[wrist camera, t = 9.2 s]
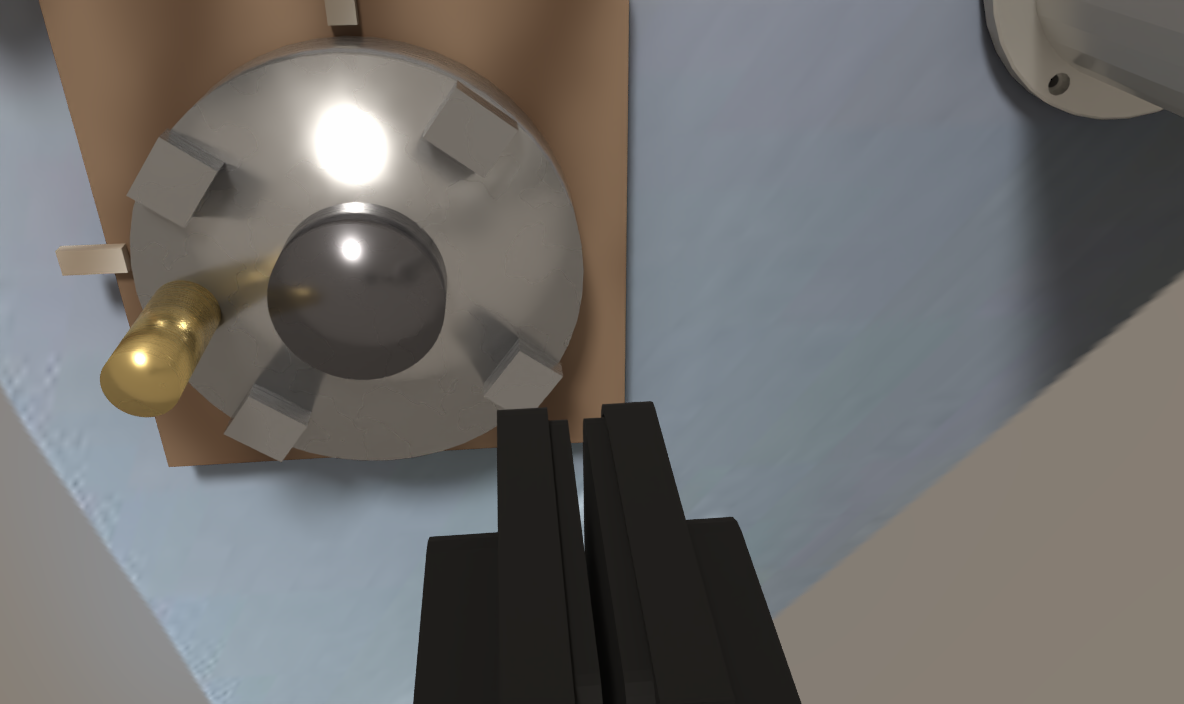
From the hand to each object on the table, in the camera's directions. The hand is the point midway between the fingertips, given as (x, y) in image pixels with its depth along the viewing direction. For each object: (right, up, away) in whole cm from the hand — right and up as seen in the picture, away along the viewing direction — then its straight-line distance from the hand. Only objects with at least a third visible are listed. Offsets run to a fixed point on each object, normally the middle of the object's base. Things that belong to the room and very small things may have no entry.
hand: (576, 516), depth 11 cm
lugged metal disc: (-8, +6, +27) cm, 29 cm away
